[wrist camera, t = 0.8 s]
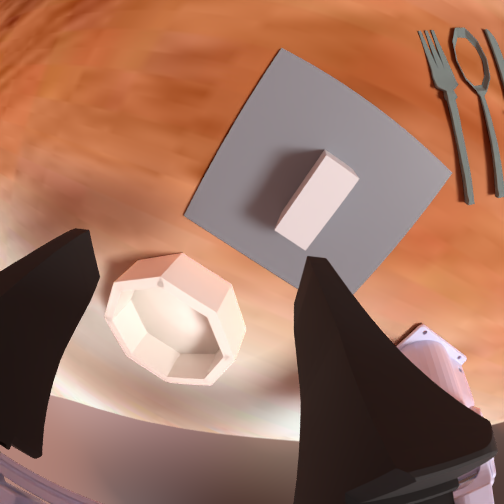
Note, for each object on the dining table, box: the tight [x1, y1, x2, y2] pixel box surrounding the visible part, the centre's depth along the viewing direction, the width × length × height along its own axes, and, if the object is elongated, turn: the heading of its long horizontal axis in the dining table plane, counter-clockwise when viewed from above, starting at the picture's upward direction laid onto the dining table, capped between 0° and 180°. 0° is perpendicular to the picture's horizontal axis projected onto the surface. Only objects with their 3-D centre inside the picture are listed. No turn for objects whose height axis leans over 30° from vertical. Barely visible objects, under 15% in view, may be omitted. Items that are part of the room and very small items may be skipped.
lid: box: [184, 48, 452, 294], centre depth 21 cm, size 16×16×5 cm
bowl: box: [104, 253, 246, 386], centre depth 28 cm, size 13×13×4 cm
